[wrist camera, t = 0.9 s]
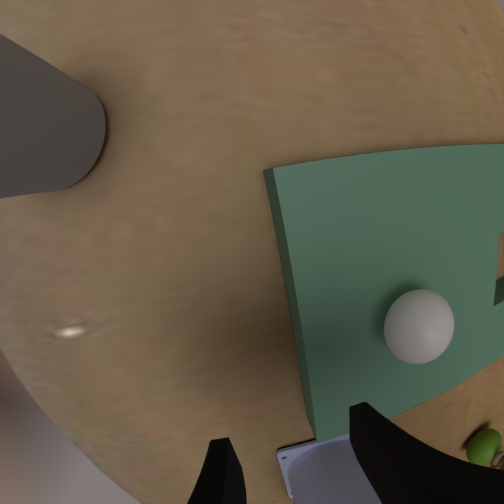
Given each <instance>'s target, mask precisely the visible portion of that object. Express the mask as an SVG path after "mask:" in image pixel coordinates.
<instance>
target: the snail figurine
mask: <svg viewBox="0 0 504 504" xmlns="http://www.w3.org/2000/svg"><path fill="white" fill-rule="evenodd" d="M501 447H502V438H501V435H500V434H499V433H498V432H497V431H496V430H494V429H483V430H481V431H479V432H477V433H476V434H475V435H474V436H473V437H472V438H471V440H470V441H469V443H468V446H467V450H466V454H467V458H468V460H469V462H470V463H474V464H477V465H481V466H483V465H486V464H488V463H490V462H491V463H490V468H495V469H501V470H504V451H500V450H501Z"/></svg>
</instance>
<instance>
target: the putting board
mask: <svg viewBox="0 0 504 504" xmlns="http://www.w3.org/2000/svg"><path fill="white" fill-rule="evenodd" d="M263 171H264V176H265V181H266V186H267V191H268V196H269V201H270V206H271V211H272V216H273V221H274V226H275V231H276V237H277V242H278V247H279V253H280V258H281V263H282V269H283V274H284V280H285V285H286V291H287V296H288V302H289V308H290V313H291V319H292V325H293V331H294V337H295V343H296V349H297V355H298V361H299V367H300V374H301V380H302V386H303V393H304V399H305V406H306V412H307V418H308V420H309V423H310V426H311V428H312V431H313V434H314V436H315V439H316V441H317V444H318V443H321V442H325V441H328V440H331V439H334V438H337V437H340V436H343V435H346V434H349V407H350V406H353V405H356V404H359V403H362V402H364V401H365V402H367V403H369V404H370V405H371V406H372V407H373V408H374V409H376V410H377V411H378V412H379V413H381V414H382V415H383V416H384V417H386V418H387V419H388V418H391V417H393V416H395V415H398V414H400V413H402V412H404V411H406V410H409V409H411V408H413V407H415V406H417V405H419V404H421V403H423V402H425V401H427V400H429V399H431V398H433V397H435V396H437V395H439V394H441V393H443V392H445V391H446V390H448V389H450V388H452V387H454V386H455V385H457V384H459V383H461V382H462V381H464V380H466V379H467V378H469V377H471V376H472V375H474V374H475V373H477V372H479V371H480V370H482V369H483V368H485V367H486V366H488V365H489V364H491V363H492V362H494V361H495V360H497V359H498V358H500V357H501V356H503V355H504V277H503V278H501V279H499V280H497V281H496V275H497V260H498V234H501V233H504V144H478V145H456V146H440V147H427V148H415V149H404V150H394V151H385V152H376V153H368V154H360V155H352V156H345V157H338V158H331V159H324V160H318V161H312V162H306V163H300V164H294V165H288V166H282V167H277V168H272V169H268V170H263ZM417 289H426V290H430V291H433V292H436V293H438V294H439V295H440V296H442V297H443V298H444V299H445V300H446V301H447V302H448V304H449V306H450V307H451V310H452V312H453V316H454V333H453V336H452V339H451V342H450V344H449V345H448V347H447V348H446V350H445V351H444V352H443V353H442V354H441V355H440V356H439V357H437V358H436V359H434V360H432V361H430V362H427V363H424V364H410V363H406V362H404V361H402V360H400V359H398V358H397V357H396V356H395V355H394V354H393V353H392V352H391V351H390V349H389V348H388V346H387V343H386V341H385V337H384V322H385V318H386V315H387V312H388V310H389V309H390V307H391V305H392V304H393V303H394V302H395V301H396V300H397V299H398V298H399V297H400V296H402V295H403V294H405V293H407V292H409V291H412V290H417Z"/></svg>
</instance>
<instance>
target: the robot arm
mask: <svg viewBox="0 0 504 504" xmlns="http://www.w3.org/2000/svg"><path fill="white" fill-rule="evenodd" d="M277 457H278V460H279V464H280V467H281V471H282V474H283V478H284V481H285V484H286V488H287V491H288V494H289V497H290V498H293V499H294V503H295V504H504V470H501V469H495V468H490V467H485V466H481V465H477V464H474V463H470V462H467V461H463V460H460V459H458V458H455V457H452V456H450V455H448V454H445V453H443V452H441V451H439V450H436V449H434V448H432V447H431V446H429V445H427V444H425V443H423V442H421V441H420V440H418V439H416V438H415V437H413V436H411V435H410V434H408V433H407V432H405V431H404V430H402V429H401V428H399V427H398V426H397V425H395V424H394V423H392V422H391V421H390V420H388V419H387V418H386V417H384V416H383V415H382V414H381V413H379V412H378V411H377V410H376V409H374V408H373V407H372V406H371V405H370V404H369V403H367V402H365V401H364V402H362V403H359V404H356V405H353V406H350V407H349V434H346V435H343V436H340V437H337V438H334V439H331V440H328V441H325V442H321V443H318V444H317V441H316V440H313V441H310V442H306V443H303V444H299V445H295V446H291V447H287V448H283V449H280V450H278V451H277ZM187 504H247V501H246V488H245V482H244V476H243V471H242V467H241V464H240V462H239V460H238V458H237V455H236V453H235V451H234V449H233V446H232V444H231V442H230V439H229V437H228V438H222V439H215V440H211V441H210V443H209V447H208V451H207V454H206V458H205V461H204V464H203V467H202V470H201V473H200V475H199V478H198V480H197V483H196V485H195V488H194V490H193V492H192V494H191V496H190V498H189V500H188V503H187Z"/></svg>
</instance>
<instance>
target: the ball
mask: <svg viewBox="0 0 504 504" xmlns="http://www.w3.org/2000/svg"><path fill="white" fill-rule="evenodd" d="M453 333H454V316H453V312H452V310H451V307H450V306H449V304H448V302H447V301H446V300H445V299H444V298H443V297H442V296H440V295H439V294H438V293H436V292H433V291H430V290H426V289H417V290H412V291H409V292H407V293H405V294H403V295H402V296H400V297H399V298H398V299H397V300H396V301H395V302H394V303H393V304H392V305H391V307H390V309H389V310H388V312H387V315H386V318H385V322H384V337H385V341H386V343H387V346H388V348H389V349H390V351H391V352H392V353H393V354H394V355H395V356H396V357H397V358H398V359H400V360H402V361H404V362H406V363H410V364H424V363H427V362H430V361H432V360H434V359H436V358H437V357H439V356H440V355H441V354H442V353H443V352H444V351H445V350H446V348H447V347H448V345H449V344H450V342H451V339H452V336H453Z"/></svg>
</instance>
